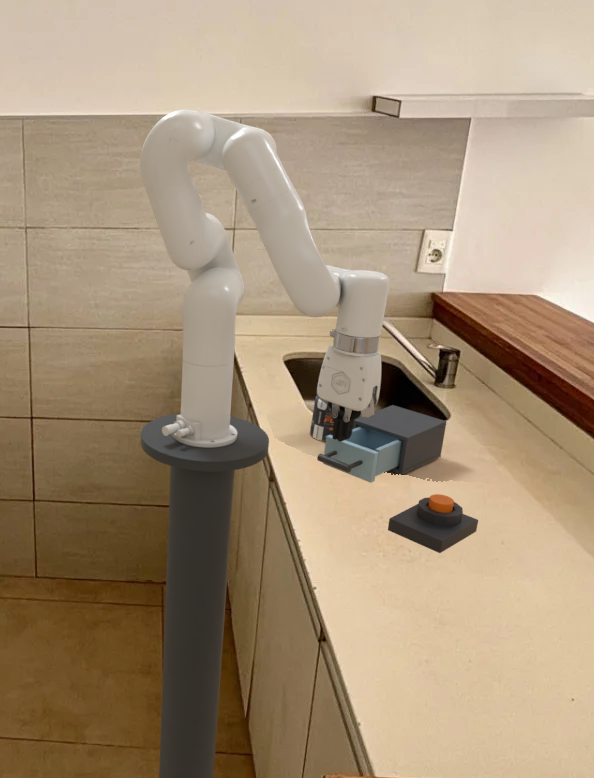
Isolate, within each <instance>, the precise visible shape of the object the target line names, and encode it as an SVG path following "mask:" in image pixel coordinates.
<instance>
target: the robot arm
mask: <svg viewBox="0 0 594 778" xmlns="http://www.w3.org/2000/svg"><path fill="white" fill-rule="evenodd" d="M191 161H194V162H197V163H201V164H204V165H207V166H211V167H213V168H216V169H220V170H223V171H226V173H227V175H228V177H229V178H230V181H231V183H232V185H233V186H234V188H235V190H236V192H237V194H238V196H239V197H240V200H241V201H242V203H243V204H244V207H245V208H246V210H247V212H248V215H249V216H250V218H251V220H252V222H253V223H254V226H255V228H256V230H257V232H258V235H259V237H260V240H261V242H262V245H263V247H264V248H265V250H266V252H267V254H268V257H269V260H270V262H271V264H272V266H273V268H274V271H275V272H276V275H277V277H278V279H279V281H280V283H281V285H282V286H283V289H284V290H285V292H286V294H287V295H288V297H289V299H290V301H291V302H292V304H293V306H294V307H295V308H296V310H297V311H299V313H301V314H303V315H304V316H306V317H309V318H322V317H325V316H327V315H329V314H330V313H331V312H333V311H334V310H335V309H336V308H337V315H336V316H337V317H336V325H335V328H333V329H330V331H329V337H331V338H333V341H332V344H329V345H328V347H327V349H326V352H325V355H324V357H323V360H322V364H321V368H320V372H319V375H318V382H317V386H316V395H318V396H319V397H320V400H321V401H323V402H324V403H326V404H328V406H329V407H330V409H331V411H332V417H333V418H334V425H333V437H332V438H333V439H335V440H336V439H337V440H338V441H340V442H341V441H344V440H347V439H349V438H350V436H351V435H352V430H353V424H354V420H355V419H357V418H360V417H371V416H374V414H375V412H376V411H375V407H376V406H377V404H378V402H379V399H380V391H381V384H382V354H381V352H379V349H380V342H381V337H382V330H383V326H384V325H383V324H384V319H385V313H386V309H387V308H386V307H387V300H388V296H389V289H390V278H389V277H388V275H386V274H385V273H383V272H380V271H375V270H368V269H355V270H351V269H346V268H342V267H337V266H333V265H329V264H326V263H325V261H324V260H323V258H322V256H321V254H320V251H319V249H318V247H317V245H316V243H315V240H314V238H313V235H312V233H311V230H310V226H309V222H308V215H307V211H306V208H305V205H304V203H303V200H302V198H301V197H300V195H299V193H298V191H297V190H296V188H295V186H294V184H293V182H292V181H291V178H290V177H289V175H288V173H287V171H286V169H285V167H284V166H283V163H282V161H281V159H280V157H279V155H278V148H277V143H276V141H275V139H274V137H273V136H272V135H271V133H270V132H268V131H266V130H265V129H262V128H260V127H256V126H251V125H247V124H244V123H240V122H236V121H233V120H231V119H227V118H223V117H220V116H217V115H214V114H211V113H208V112H204V111H200V110H192V109H191V110H190V109H178V110H174V111H171V112H169V113H167V114H166V115H164V116H162V118H161V119H159V120H158V121H157V122H156V123H155V125H154V126H153V127H152V129H151V130H150V131H149V132H148V134H147V136H146V137H145V140H144V142H143V145H142V148H141V152H140V160H139V167H140V169H139V170H140V175H141V179H142V183H143V186H144V189H145V192H146V195H147V197H148V200H149V203H150V206H151V209H152V212H153V216H154V218H155V221H156V224H157V226H158V229H159V231H160V234H161V237H162V240H163V243H164V246H165V250H166V252H167V254H168V257H169V259H170V260H171V262H172V263H173V264H174V265H175V266H176V267H177V268H179V269H180V270H185V271H187V274H188V276H189V280H190V282H191V283H190V284H189V285H188V287H187V289H186V290H185V293H184V295H183V298H182V305H181V319H182V366H181V367H182V368H181V369H182V371H181V390H180V391H181V392H180V394H181V396H180V413H181V414H180V413H179V414H180V415H177V419H176V421H175V422H174V423H173V424H170V425H167V426H164V427H162V433H163V435H164V436H169V435H172V436H173V438H175V439H176V440H177V441H179V442H181V443H183V444H186V445H189V446H194V447H201V448H216V447H223V446H227V445H229V444H231V443H233V442H234V441H236V439H237V430H236V429H235V428H234V427H233V426H232V425H230V416H231V412H232V397H233V381H234V367H235V365H234V364H235V345H236V319H237V316H236V315H237V310H238V308H239V306H240V305H241V303H242V301H243V299H244V294H245V283H244V280H243V277H242V273H241V270H240V268H239V264H238V262H237V259H236V256H235V254H234V251H233V248H232V246H231V242H230V239H229V237H228V233H227V231H226V229H225V227H224V225H223V224H222V222H221V221H220V220H219V219H218V218H217V217H216V216H215V215H214V214H211V213H209V212H206V211H205V208H204V205H203V203H202V200H201V198H200V193H199V191H198V188H197V186H196V183H195V181H194V179H193V177H192V174H191V171H190V163H191Z"/></svg>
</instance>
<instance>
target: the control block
mask: <svg viewBox="0 0 594 778" xmlns="http://www.w3.org/2000/svg"><path fill="white" fill-rule="evenodd" d="M429 499H430V496H429V497H423V498H421V499H420V500H418V503H417V504H415V505H413V506H411V507H409V508H407V509H405V510H402V511H401V512H399V513H398V514H395V515H393V516H392V517H390V518H389V519H388V525H387V526H388V527H387V531H389V532H391V533H393V534H396V535H398V536H400V537H401V538H404V539H406V540H409V541H411V542H413V543H416V544H418V545H420V546H423V547H425V548H426V549H429V550H431V551H434V552H435V553H439V554H442V553H443V552H445V551H447V550H448V549H449V548H452V547H453V546H455V545H456V544H458V543H459V542H461V541H463V540H464V539H466V538H469V537H470V536H471V535H473V534H475V533H476V532H477V530H478V529H477V528H478V525H479V519H477V518H474V517H472V516H470V515H467V514H464V511H463V507H462V506H461V505H460V504H458V503H457V502H456V501H454V505H453V510H452V512H451V513H442V512H437V511H434V510H432V509H430V508H429V507H428V504H429Z"/></svg>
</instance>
